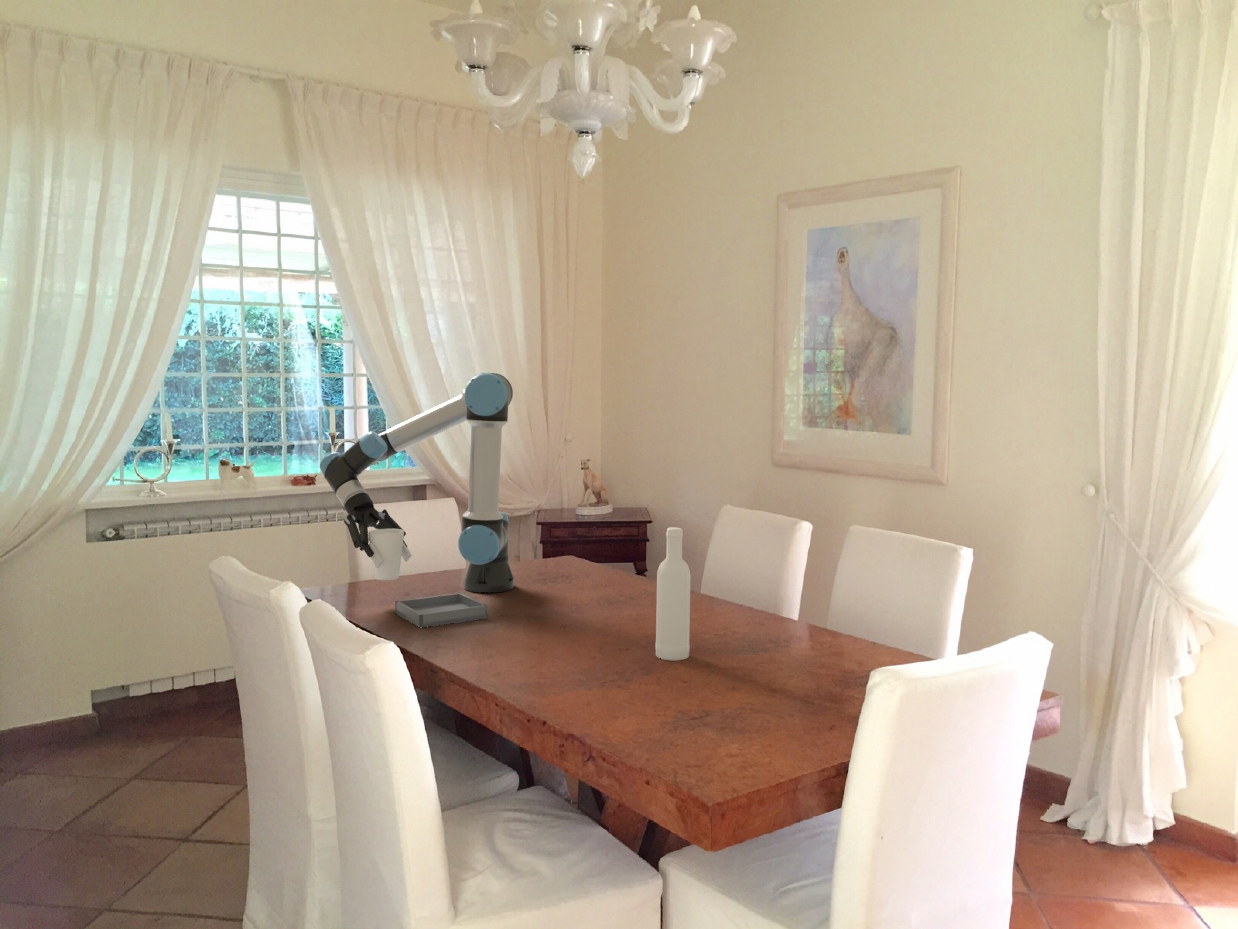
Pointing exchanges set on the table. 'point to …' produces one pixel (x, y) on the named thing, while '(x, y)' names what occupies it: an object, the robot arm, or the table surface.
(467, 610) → the tray
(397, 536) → the foam cup
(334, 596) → the table surface
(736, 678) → the table surface
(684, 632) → the bottle
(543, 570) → the table surface
